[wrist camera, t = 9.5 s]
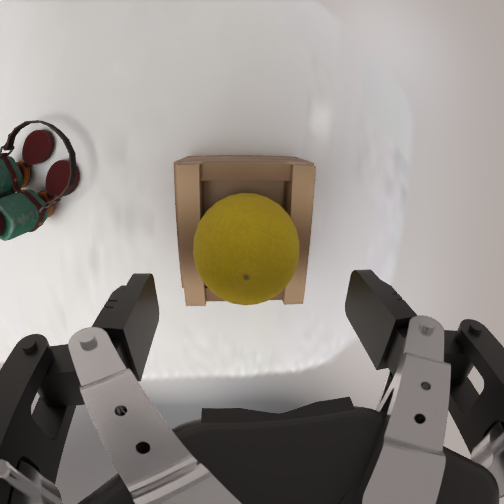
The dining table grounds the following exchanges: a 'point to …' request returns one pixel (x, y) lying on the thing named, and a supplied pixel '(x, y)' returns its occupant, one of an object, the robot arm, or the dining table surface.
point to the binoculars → (17, 176)
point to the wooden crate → (234, 182)
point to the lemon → (246, 248)
